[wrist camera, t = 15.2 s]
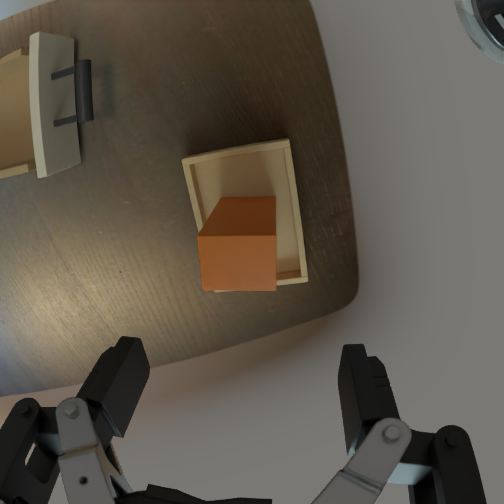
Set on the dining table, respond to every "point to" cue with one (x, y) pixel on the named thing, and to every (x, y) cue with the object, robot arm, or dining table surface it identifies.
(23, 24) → the dining table surface
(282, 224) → the tray
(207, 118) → the dining table surface
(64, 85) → the drawer
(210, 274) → the block
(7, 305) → the dining table surface
